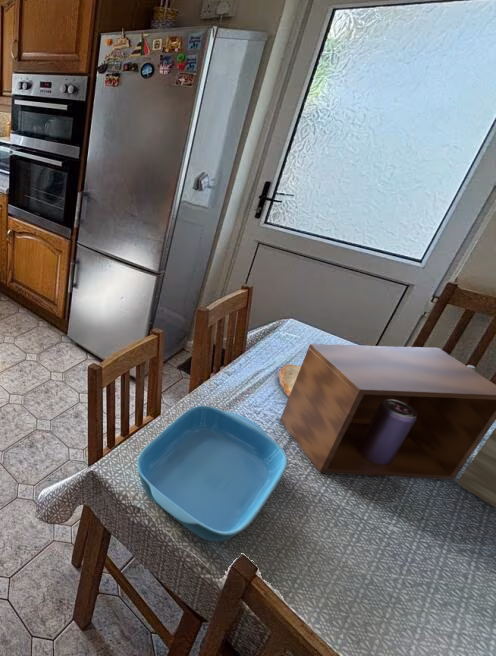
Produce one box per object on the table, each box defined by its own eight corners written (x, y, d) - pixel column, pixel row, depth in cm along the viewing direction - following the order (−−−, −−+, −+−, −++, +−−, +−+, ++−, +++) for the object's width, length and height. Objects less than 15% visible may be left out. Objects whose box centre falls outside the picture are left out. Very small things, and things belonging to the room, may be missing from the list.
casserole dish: (218, 579, 74) (228, 556, 71) (114, 492, 90) (118, 469, 87) (292, 469, 95) (302, 447, 92) (197, 413, 111) (202, 393, 108)
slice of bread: (322, 422, 107) (327, 411, 106) (256, 380, 122) (260, 370, 121) (362, 401, 114) (367, 391, 112) (295, 364, 129) (299, 354, 127)
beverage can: (387, 471, 92) (416, 422, 86) (353, 454, 97) (379, 406, 90) (392, 457, 96) (421, 408, 89) (360, 441, 100) (385, 394, 94)
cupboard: (453, 480, 92) (512, 395, 81) (319, 472, 94) (360, 389, 83) (395, 425, 106) (438, 347, 96) (279, 419, 108) (310, 343, 98)
